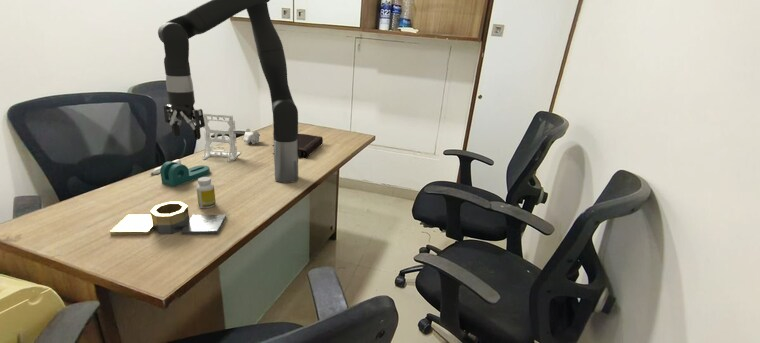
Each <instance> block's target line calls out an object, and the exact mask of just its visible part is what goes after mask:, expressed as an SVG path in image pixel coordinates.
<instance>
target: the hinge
mask: <svg viewBox="0 0 760 343" xmlns="http://www.w3.org/2000/svg"><path fill="white" fill-rule="evenodd" d="M149 212H150V214H127V215H126V216H125V217H124V218H123V219H122V220H120V221H119V222H118V224H116V225H115V226H114V227H113V228H112V229H111V230H110V231H109V233H110V236H149V235H150V234H151V233H152V231H154V232H155V233H157V234H158V235H174V234H176V233H181V235H182V236H184V235H186V236H190V235H191V236H193V235H194V236H199V235H200V236H201V235H204V236H206V235H207V236H209V235H211V236H212V235H214V236H215V235H218V234H219V233H220V230H221V228H222V227H223V226H224V223H225V221H226V219H227V215H226V214H192V215H191V216H190V215H189V214H190V212H189V208H188V205H187V204H185V203H184V202H182V201H168V202H163V203H160V204H157V205H155V206H154V207H153V208H152V209H151V210H150V211H149Z"/></svg>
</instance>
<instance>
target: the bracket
mask: <svg viewBox="0 0 760 343" xmlns="http://www.w3.org/2000/svg"><path fill="white" fill-rule="evenodd" d="M172 161H173V160H172ZM172 161H171V160H169V161H166V162H164V163H163V164H161V166H160V167H161V169H160V173H159V174H160V178H161V179H160V180H161V183H162V184H165V185H168V186H170V187H173V188H175V187H178V186H181V185H183V184H186V183H189V182H192V181H194V180H198V179H199V178H201V177H206V176H207V175H210V173H211V170H210V166H208V165H204V164H203V165H202V164H201V165H194V166H192V167H189V168H188V166H187V165H185V164H182V163H181V164H178V163H175V162H172Z"/></svg>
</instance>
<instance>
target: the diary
mask: <svg viewBox="0 0 760 343" xmlns="http://www.w3.org/2000/svg"><path fill="white" fill-rule="evenodd" d="M323 140H324V138H323V136H320V135H318V136H317V135H312V134H307V133H305V134H304V133H298V135H297V150H298V159H305V158H306V159H307V158H308V157H310V155H311V154H313V153H314V152H315V151H316V150H317V149H318V148H319V147H320V146H322V145H323V143H324V141H323ZM321 144H322V145H321ZM271 146H272V147H274V144H272V145H271ZM272 155H274V152H273V153H272Z"/></svg>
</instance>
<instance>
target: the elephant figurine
mask: <svg viewBox="0 0 760 343" xmlns="http://www.w3.org/2000/svg"><path fill="white" fill-rule="evenodd" d="M260 136H261V134H260V133H259V132H258V130H256V131H251V129H250V128H247V129H245V132H244V137H243V138H242V139H241V141H243V142H244V143H247V144H250V143H251V145H255V144H259V141H260Z"/></svg>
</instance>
